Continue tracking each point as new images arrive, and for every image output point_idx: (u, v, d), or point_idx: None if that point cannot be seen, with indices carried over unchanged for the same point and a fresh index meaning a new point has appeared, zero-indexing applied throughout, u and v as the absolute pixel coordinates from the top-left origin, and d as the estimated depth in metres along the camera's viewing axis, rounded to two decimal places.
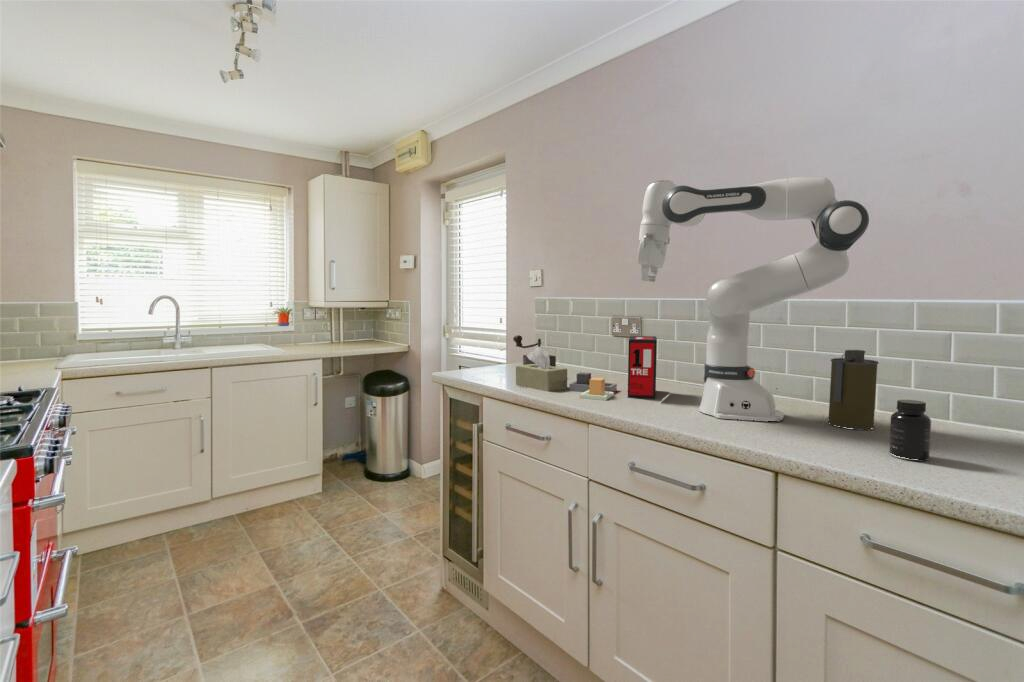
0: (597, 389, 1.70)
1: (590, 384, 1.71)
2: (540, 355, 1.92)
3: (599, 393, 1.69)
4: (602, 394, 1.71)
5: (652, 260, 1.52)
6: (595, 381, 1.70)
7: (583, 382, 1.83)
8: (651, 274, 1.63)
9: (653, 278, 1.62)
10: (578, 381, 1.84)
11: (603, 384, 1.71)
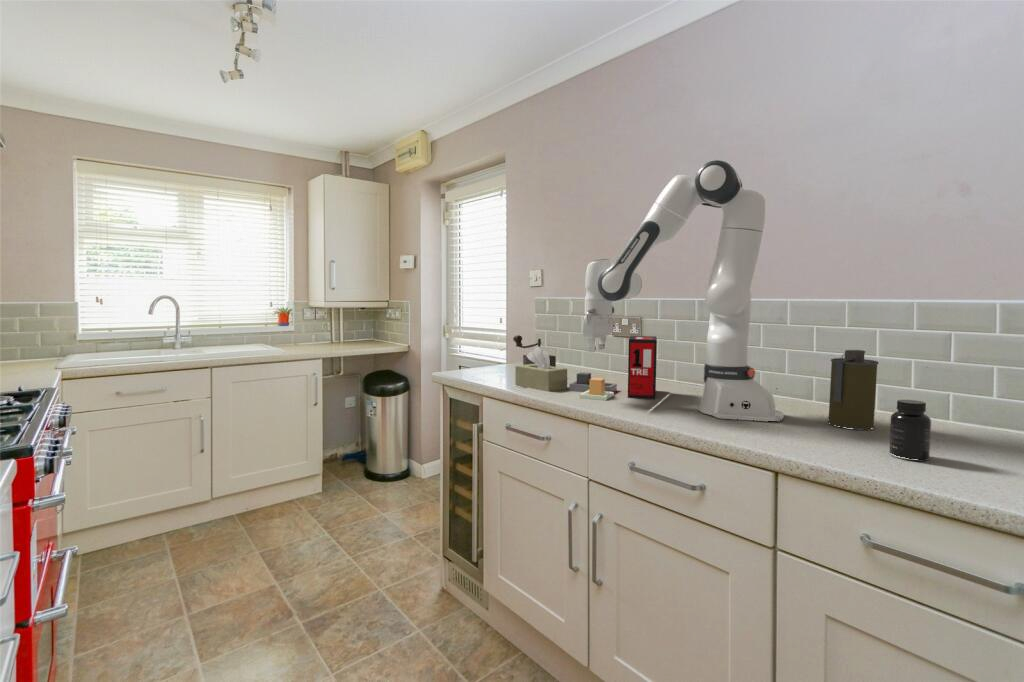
0: (597, 389, 1.70)
1: (590, 384, 1.71)
2: (540, 355, 1.92)
3: (599, 393, 1.69)
4: (602, 394, 1.71)
5: (597, 333, 1.64)
6: (595, 381, 1.70)
7: (583, 382, 1.83)
8: (600, 342, 1.75)
9: (602, 346, 1.74)
10: (578, 381, 1.84)
11: (603, 384, 1.71)
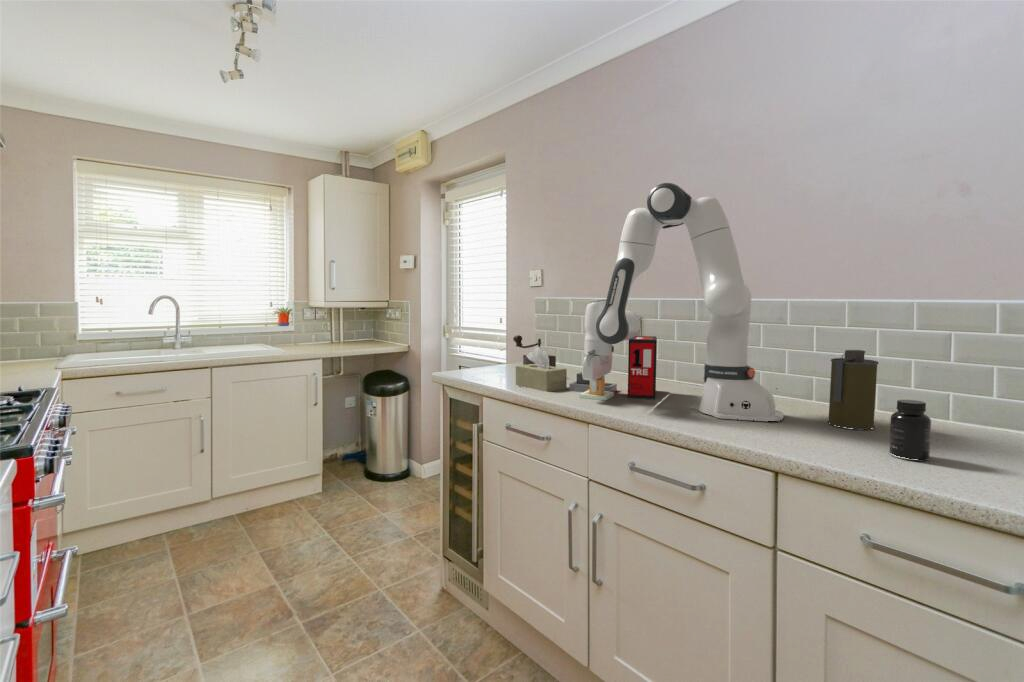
0: None
1: (590, 384, 1.71)
2: (540, 355, 1.92)
3: (599, 393, 1.69)
4: (602, 394, 1.71)
5: (596, 374, 1.65)
6: None
7: (583, 382, 1.83)
8: None
9: None
10: (578, 381, 1.84)
11: (603, 384, 1.71)
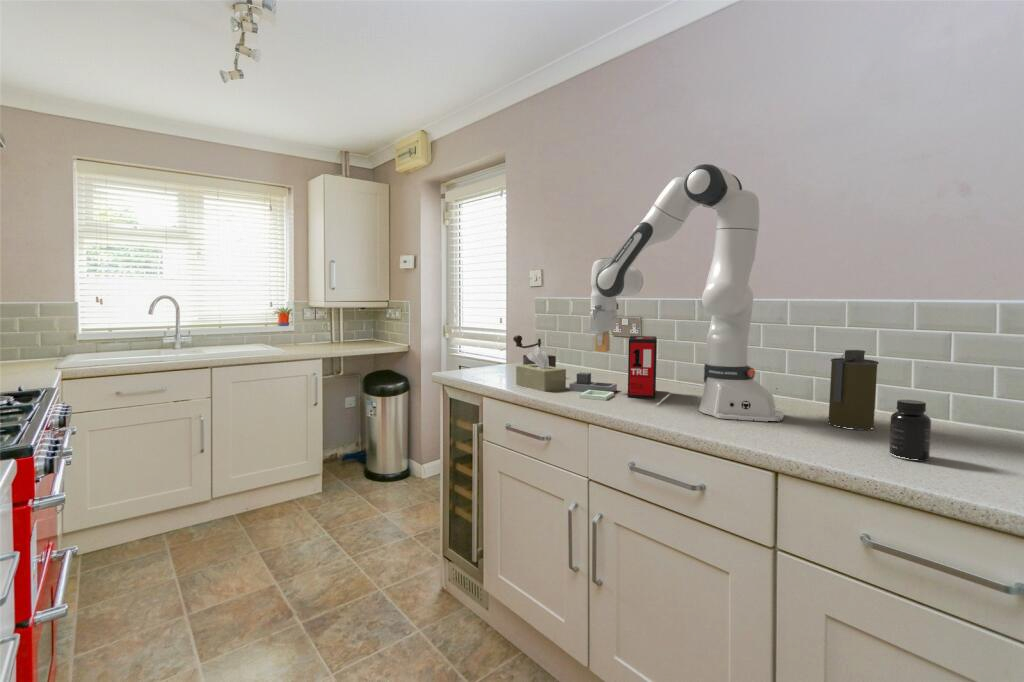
0: (603, 343, 1.78)
1: (595, 338, 1.79)
2: (540, 355, 1.92)
3: (604, 347, 1.78)
4: (607, 348, 1.79)
5: (602, 328, 1.74)
6: None
7: (583, 382, 1.83)
8: None
9: None
10: (578, 381, 1.84)
11: (608, 339, 1.80)
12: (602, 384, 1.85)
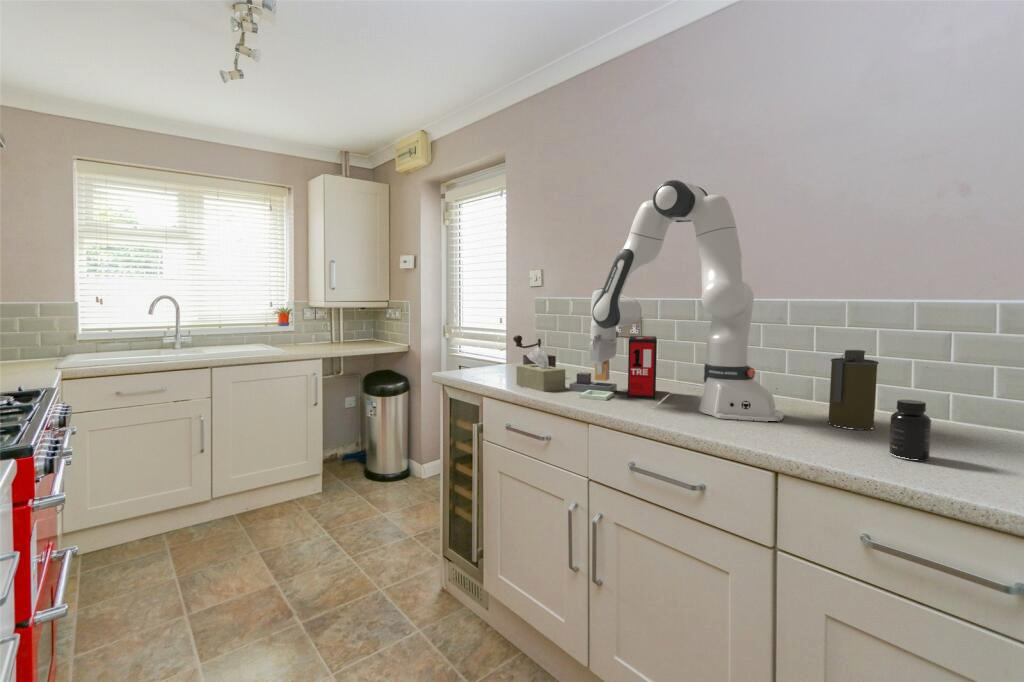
0: None
1: (595, 367, 1.80)
2: (540, 355, 1.92)
3: (604, 376, 1.79)
4: (607, 377, 1.80)
5: (602, 357, 1.75)
6: None
7: (583, 382, 1.83)
8: None
9: None
10: (578, 381, 1.84)
11: (608, 367, 1.81)
12: (602, 384, 1.85)
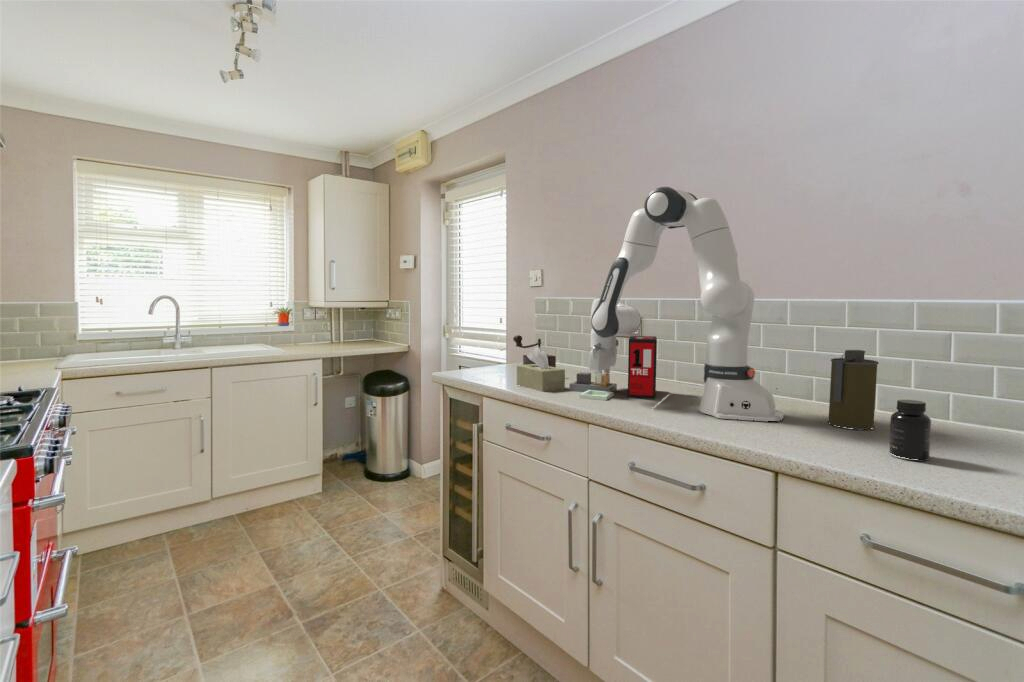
0: (603, 384, 1.79)
1: (595, 379, 1.81)
2: (540, 355, 1.92)
3: None
4: None
5: (602, 366, 1.75)
6: None
7: (583, 382, 1.83)
8: (604, 373, 1.85)
9: None
10: (578, 381, 1.84)
11: (608, 379, 1.81)
12: None
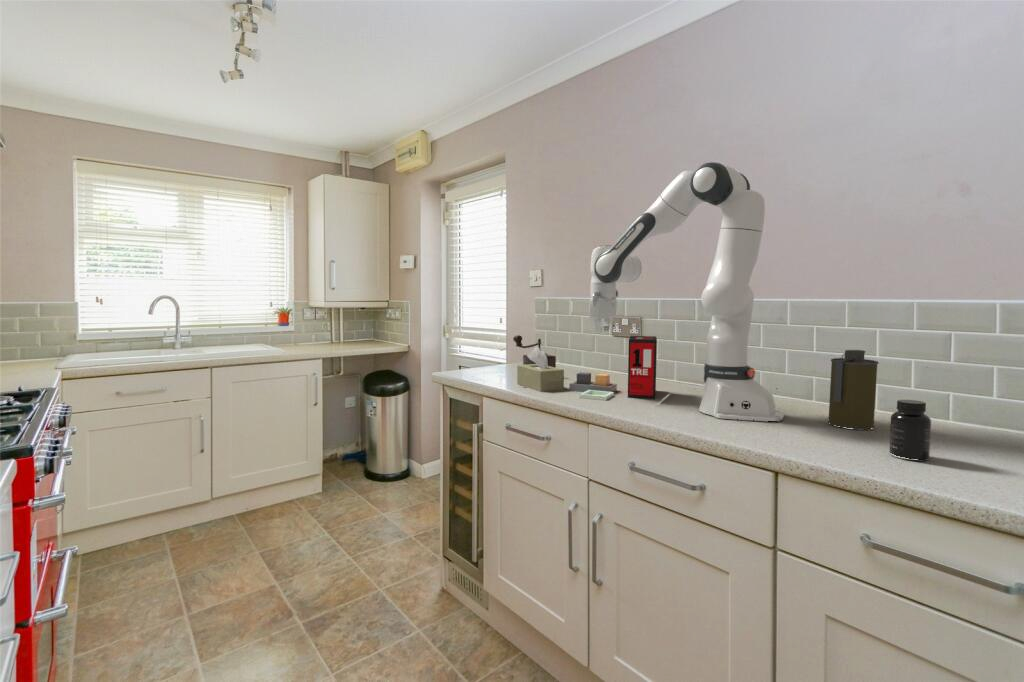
0: (603, 384, 1.79)
1: (595, 379, 1.81)
2: (539, 355, 1.92)
3: None
4: None
5: (602, 314, 1.76)
6: (600, 377, 1.80)
7: (583, 382, 1.83)
8: (605, 324, 1.87)
9: (607, 327, 1.85)
10: (578, 381, 1.84)
11: (608, 379, 1.81)
12: None
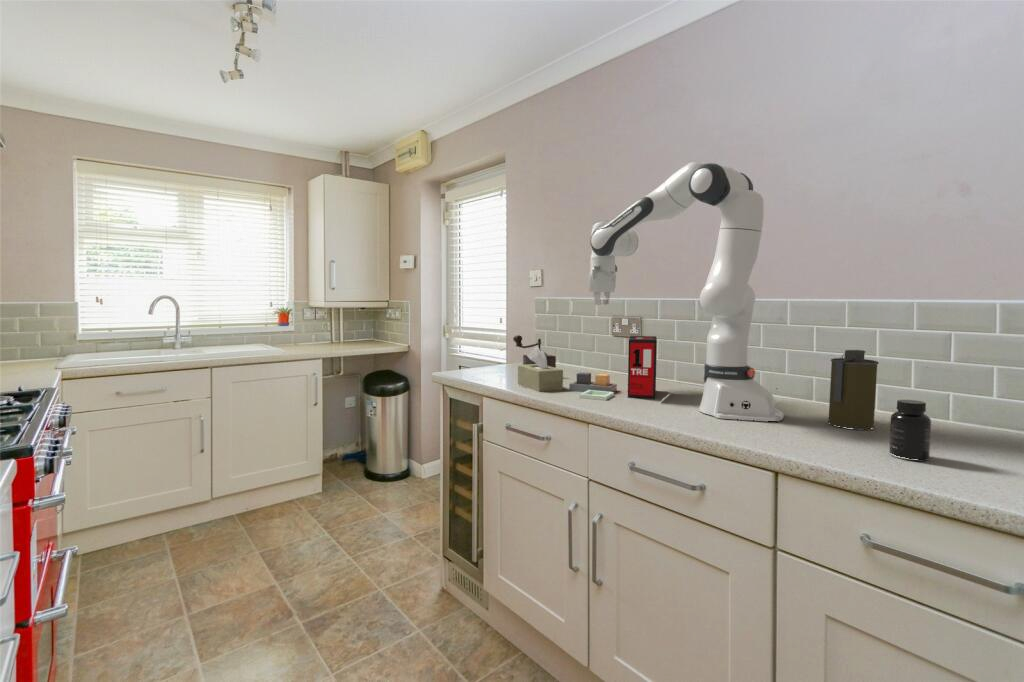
0: (603, 384, 1.79)
1: (595, 379, 1.81)
2: (539, 355, 1.92)
3: None
4: None
5: (602, 287, 1.82)
6: (600, 377, 1.80)
7: (583, 382, 1.83)
8: (605, 298, 1.93)
9: (606, 301, 1.92)
10: (578, 381, 1.84)
11: (608, 379, 1.81)
12: None
